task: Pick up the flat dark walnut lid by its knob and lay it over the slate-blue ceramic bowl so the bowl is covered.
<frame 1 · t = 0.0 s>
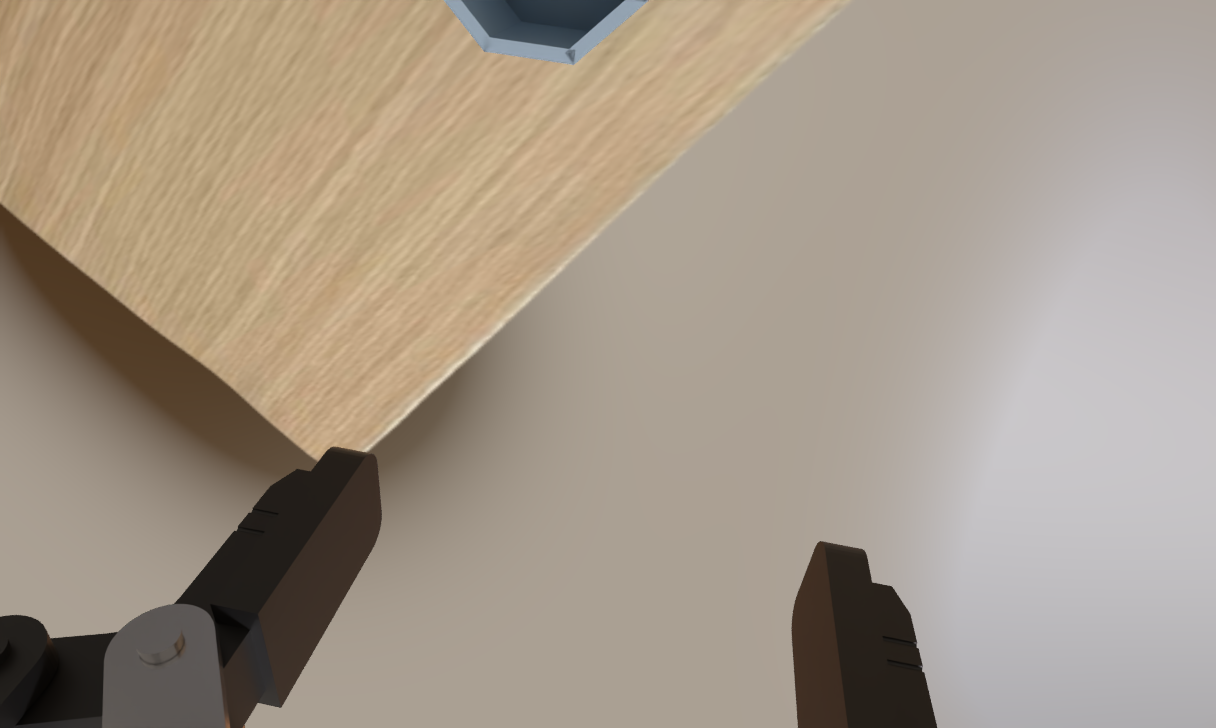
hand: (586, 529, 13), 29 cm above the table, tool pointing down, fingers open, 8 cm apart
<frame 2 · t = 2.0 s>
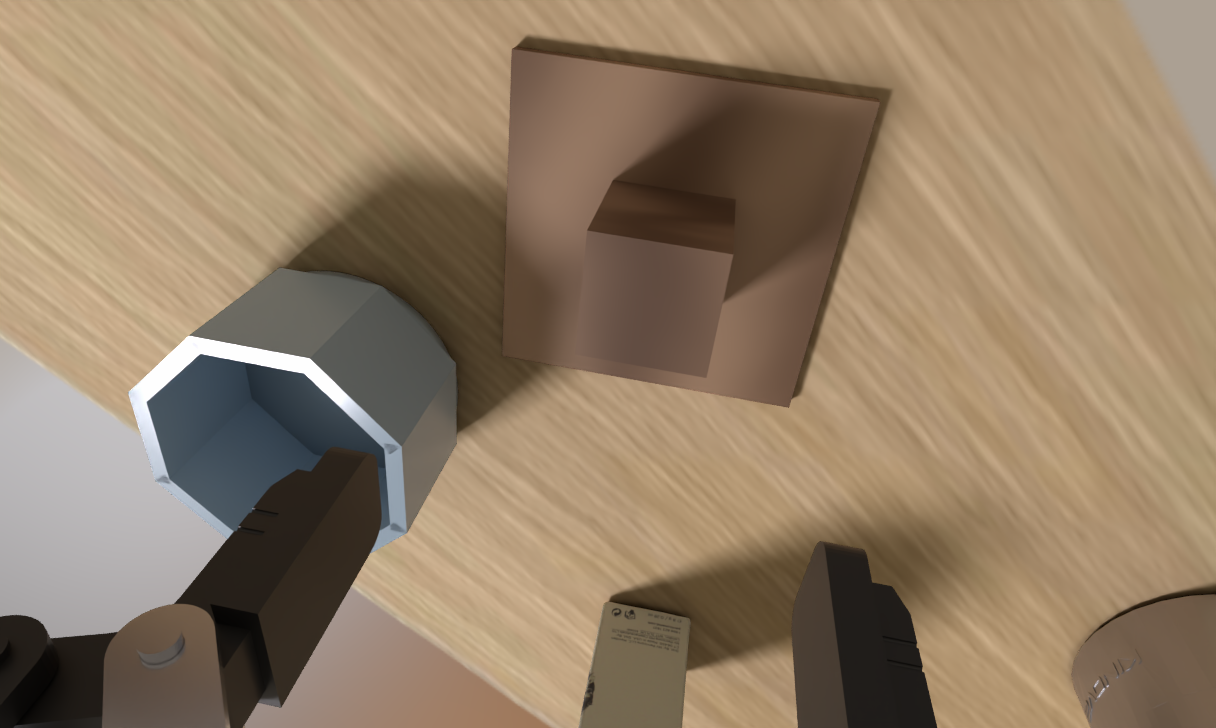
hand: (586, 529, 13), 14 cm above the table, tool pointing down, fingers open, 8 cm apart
bowl: (351, 372, 30), on the table
lid: (667, 235, 25), on the table
box: (642, 636, 36), on the table
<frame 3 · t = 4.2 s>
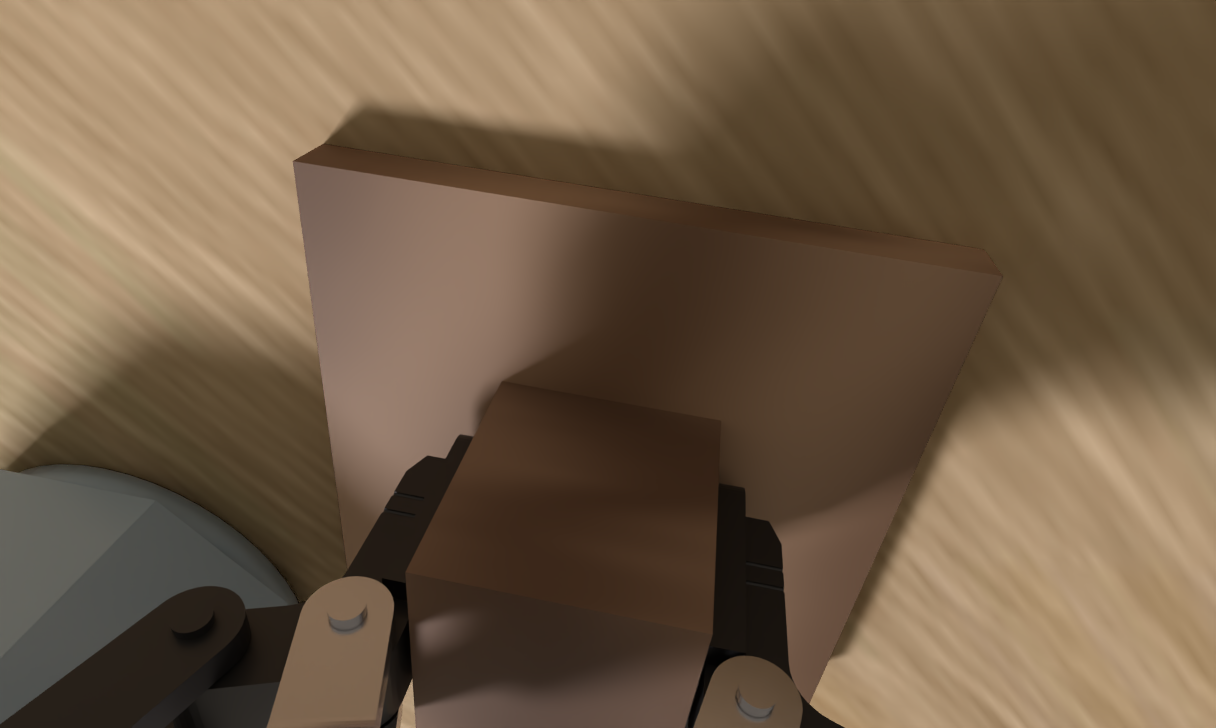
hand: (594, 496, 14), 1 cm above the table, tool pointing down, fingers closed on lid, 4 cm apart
bowl: (148, 592, 20), on the table
lid: (607, 450, 15), on the table, touching gripper
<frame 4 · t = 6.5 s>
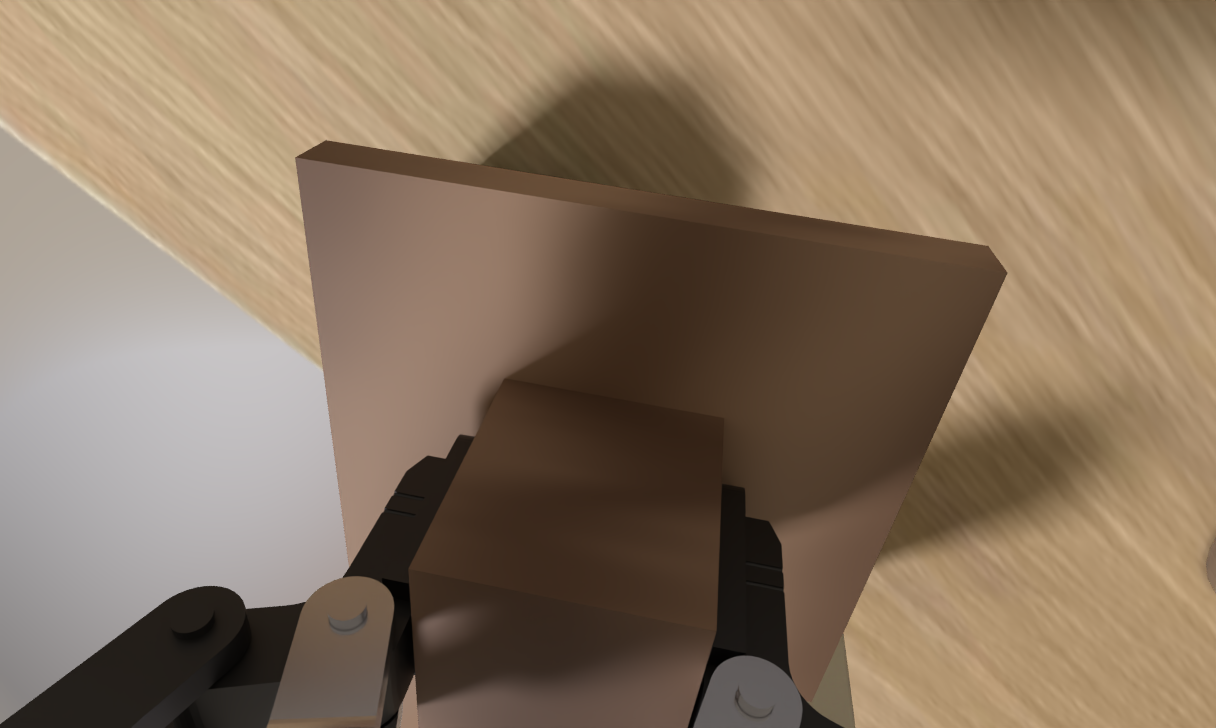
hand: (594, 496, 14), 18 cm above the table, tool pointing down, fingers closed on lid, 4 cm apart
lid: (609, 448, 15), point 16 cm above the table, touching gripper
box: (777, 544, 38), on the table
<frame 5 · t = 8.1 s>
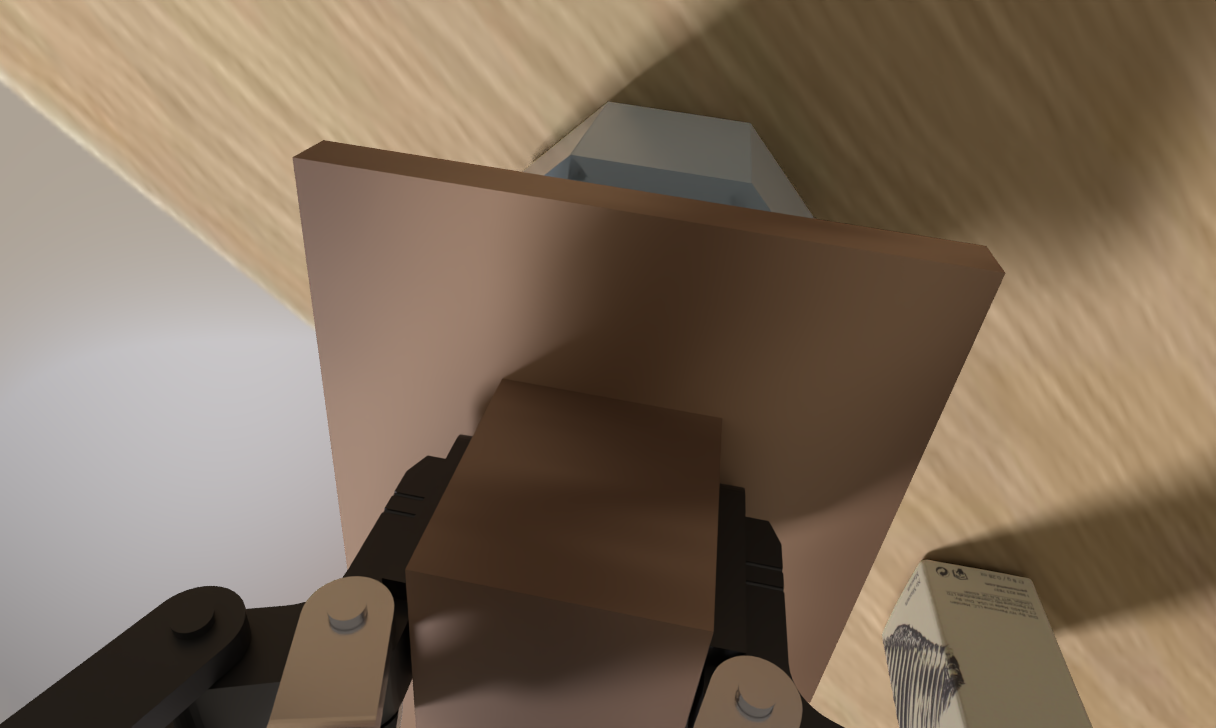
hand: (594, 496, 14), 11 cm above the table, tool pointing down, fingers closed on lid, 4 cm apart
bowl: (656, 258, 23), on the table
lid: (607, 448, 15), point 10 cm above the table, touching gripper
box: (950, 603, 29), on the table
when the fingers open (9 cm above the table, at t = 9.3 s): lid drops 1 cm, resting on bowl.
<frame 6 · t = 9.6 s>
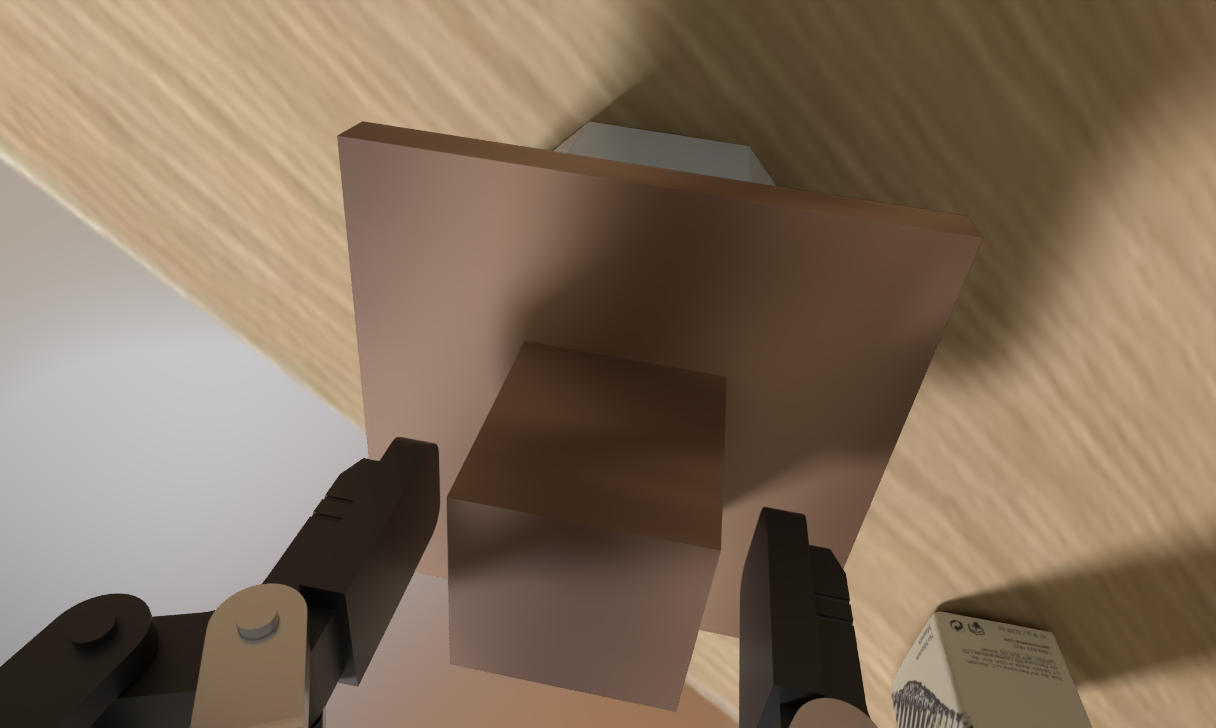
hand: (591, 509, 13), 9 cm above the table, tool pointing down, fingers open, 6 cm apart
bowl: (645, 292, 21), on the table
lid: (620, 410, 16), point 6 cm above the table, touching bowl
box: (964, 655, 27), on the table
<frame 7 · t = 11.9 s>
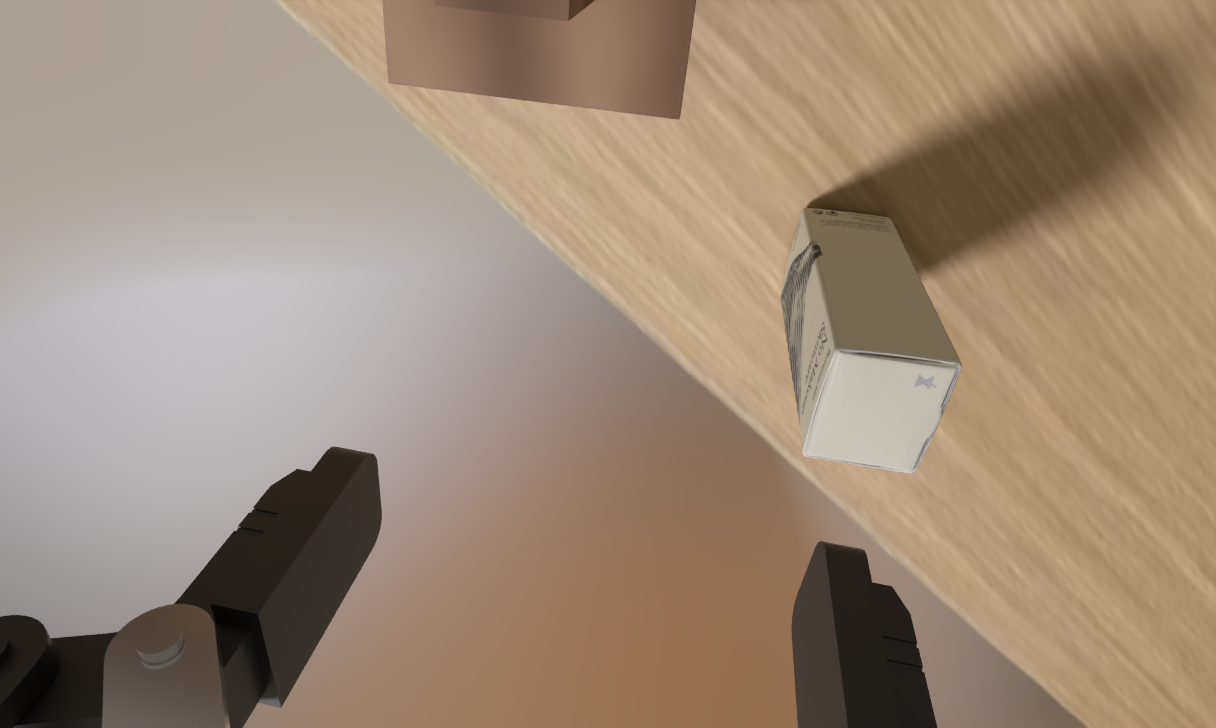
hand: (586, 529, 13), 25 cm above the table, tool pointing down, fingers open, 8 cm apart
box: (832, 258, 36), on the table
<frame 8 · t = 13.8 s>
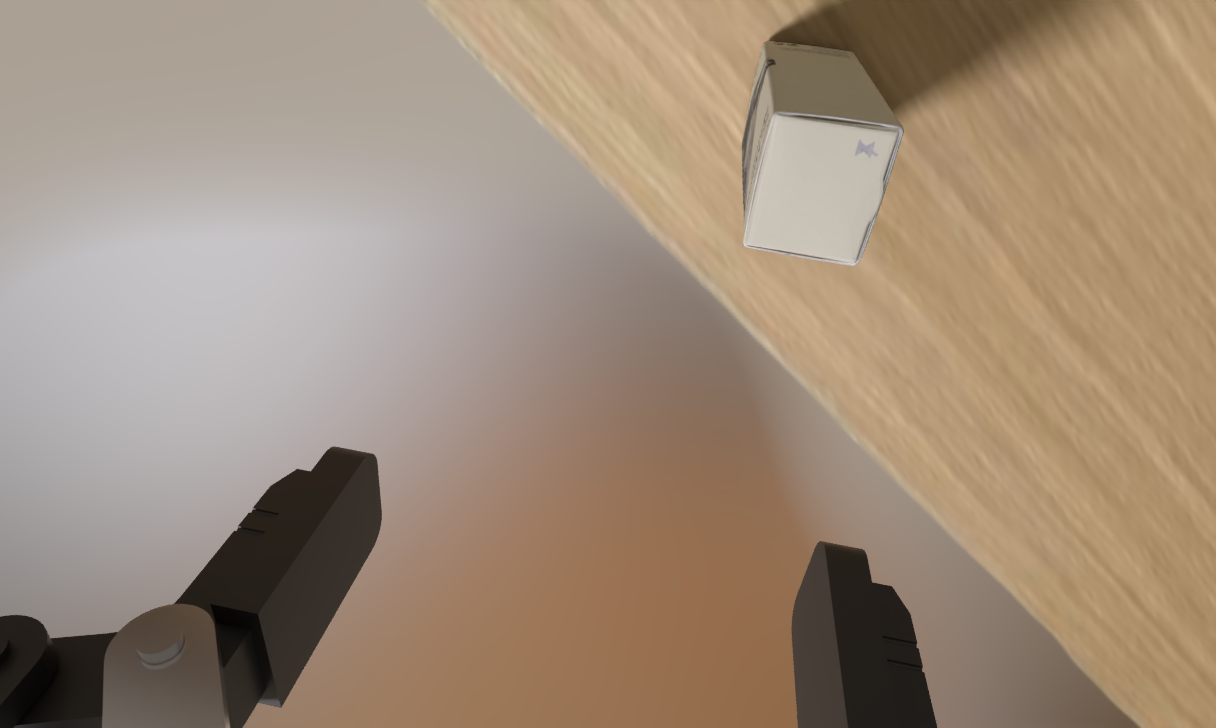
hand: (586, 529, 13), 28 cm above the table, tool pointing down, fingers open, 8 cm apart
box: (795, 101, 35), on the table
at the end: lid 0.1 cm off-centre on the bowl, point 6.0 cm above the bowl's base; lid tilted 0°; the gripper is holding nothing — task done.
